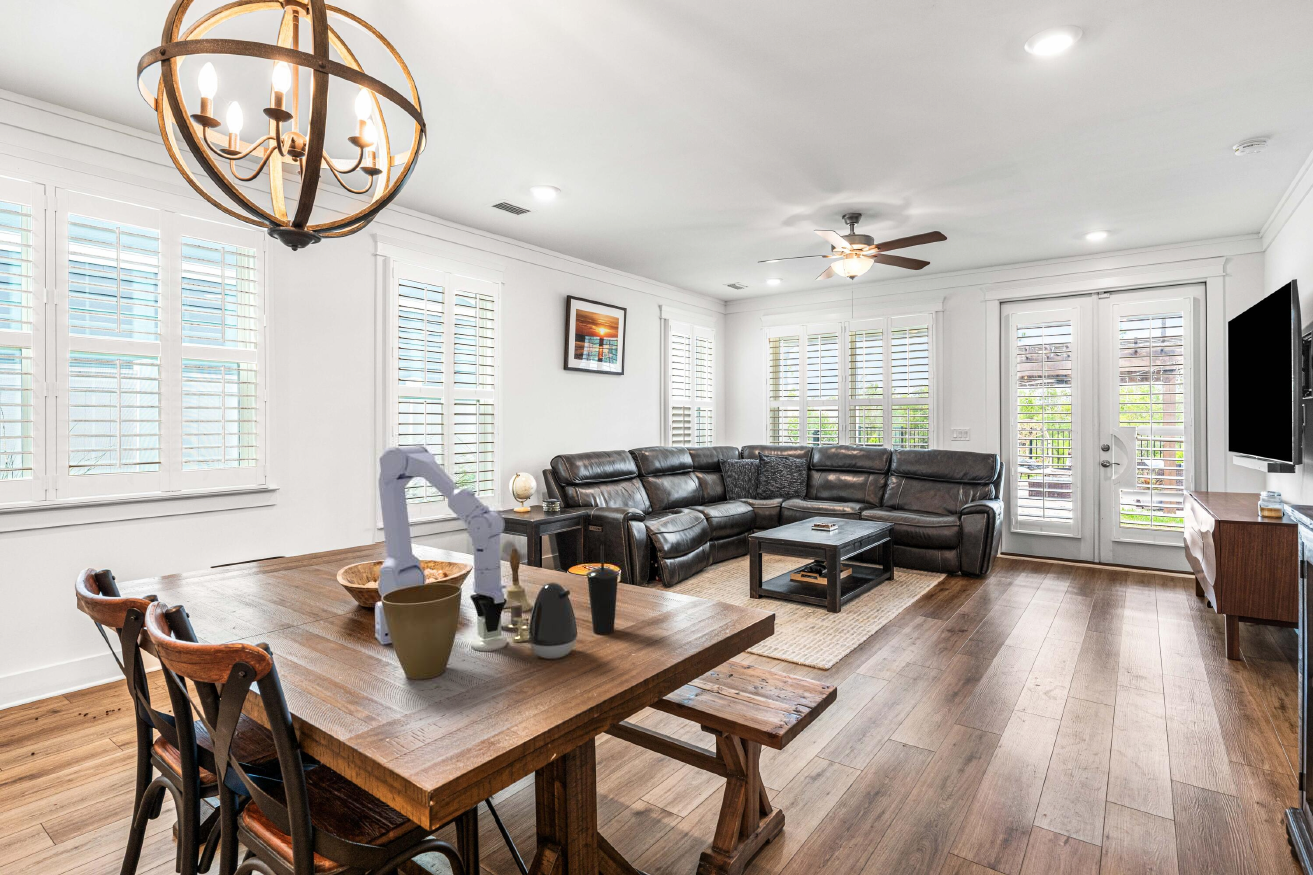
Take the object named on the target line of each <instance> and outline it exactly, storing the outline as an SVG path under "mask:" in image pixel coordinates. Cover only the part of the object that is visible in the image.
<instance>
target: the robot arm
mask: <svg viewBox="0 0 1313 875" xmlns="http://www.w3.org/2000/svg"><path fill="white" fill-rule="evenodd" d="M379 468H380V472H379V478H378V490H379V491H378V492H379V499H380V508H381V515H382V518H381V519H382V525H383V526H382V527H383V534H384V541H385V542H384V543H385V549H386V550H385V551H386V559H385V560H384V562H383V563H382V565H381V566H380V567H379V569H378V570H379V577H378V583H377V591H378V593H379V595H380V596H381V597H382V596H383V595H385V594H386V593H388V592H391V591H393V590H397V589H400V588H404V587H409V586H415V585H423V584H426V580H427V577H426V573H425V571H424V570H423V568H422V564H421V559H419V558H418V557H417V556H415V554H413V548H412V538H411V530H410V522H409V513H408V504H407V498H406V495H407V494H406V487H407V485H409V483H410V482H411V481H412V480H413V479H414V478H423V479H424V480H426V481H427V482H428V483H429V484H430V485H431V486H432V487H433V488H435V490H437V491H438V492H439V494H442V496H444V497H445V498H446V499H447V506H448V509H449V510H451V512H453V514H454V515H456V516H457V517H458V518H459V519H460V520H461V521H462V522H463V523H464V524H465V526H467V528H466V530H467V534H468V536H469V537H470V538H471V541H472V542H471V544H472V546H473V579H474V580H473V581H472V590H473V593H474V594H471V595H470V596H469V597H470V600H471V602H472V603H473V605H474V609H475V611H476V614H477V615H476V616H477V617H480V616H484V617H485V624H486V628H487V632H492V631H497V629H498V625H499V620H500V616H501V617H502V612H503V611H502V610H503V608H504V606H505V604H506V601H507V600H506V597H505V592H503V589H507V584H505V583H502V567H501V565H502V564H501V562H502V561H501V557H502V556H501V535H502V533H503V532H504V531H505V526H506V523H505V519H504V517H503V515H502V514H501V512H499V511H497V510H492V509H490V507H489V506H488V505H485V504H484V503H483V502H482V501H481V500H480V499H479V498H478V497H477V496H475V495H476V492H475V491H474V490H473V489H469V488H460V487H459V486H458V485H457V484H456V482H454V480H453V479H452V478H451V477H450V476H449V475H448V473H447V472H446V471H445V470H444V469H443V468H442V467H441V466H440V465H439V463H438V462H437V461H436V459H435V455H434V454H433V453H431V452H430V451H429V450H428V449H427V448H426V447H425V446H423V445H421V444H420V445H418V444H417V445H415V446H400V447H399V446H391V447H389V448H387V449H386V450H385V451H384V453H383V454H382V455H381V456H380V457H379ZM374 621H375V622H374V624H375V635H374V636H375V638H376V639H377V640H378V641H379V643H380V644H381V645H388V644H389V645H390V644H392V641H391V638H390V635H389V631H388V627H387V624H386V619H385V615H384V610H383V606H382V600H380V601H377V602H375V606H374Z"/></svg>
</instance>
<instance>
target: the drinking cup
mask: <svg viewBox="0 0 1313 875" xmlns="http://www.w3.org/2000/svg"><path fill="white" fill-rule="evenodd" d="M604 548H605V546H604V545H600V567H597V568H593V569H592V570H590V571H588V572H587V573H585V575H586V578H587V585H588V596H589V604H590V614H591V621H592V631H593V632H592V633H594V634H595V635H600V636H602V635H610V634H613V633H614V632H615V624H616V621H615V620H616V606H617V594H618V582H619V581H618V579H619V576H620V572H619V571H618V570H614V569H613V568H610V567H605V553H604V552H605V551H604V550H605V549H604Z"/></svg>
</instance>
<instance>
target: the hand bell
mask: <svg viewBox="0 0 1313 875" xmlns="http://www.w3.org/2000/svg"><path fill="white" fill-rule="evenodd" d="M510 551H511V552H510V554H509V555H510V556H509V566H510V569H511V574H512V575H511V576H512V577H511V580H512V585H511V586H510V587H507V592H506V597H505V599H506V600H512V599H513V600H515V601H516V602H518V603H520V604H522V613H523V612H527V611H529V610H531V609H533V604H532V603H531V602H530V601H529V600H528V598H527V594H526V590H525V587H524V586H522V585H521V584H520V578H519V577H520V576H519V569H520V565H521V564H520V563H521V561H520V554H519V552H518V549H517V547H511V550H510ZM502 612H504V613H509V614H511V609H506V610H502Z"/></svg>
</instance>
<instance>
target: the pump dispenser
mask: <svg viewBox="0 0 1313 875" xmlns="http://www.w3.org/2000/svg"><path fill="white" fill-rule="evenodd" d="M570 594H571V591H570V590H569V589H568V590H566V589H565V588H564V586H562V585H561V584H560V583H556V582H548V583H546V584H544V585H543V586H541V588H540V590H539V591H538V593H537V595H536V596H535V600H534V602H533V605H532V608H531V609H532V610H531V614H530V619H529V623H528V624H529V630H528V633H527V634H528V642H529V643H530V647H531V649H532V651H533V652H534V653H535V654H536V655H537V656H538V657H540V658H543V659H548V660H554V659H560V658H562V657H565V656H566V655H568V654H569V653H571V651H572V650H573V649H574V647H575V643H576V640H577V638H578V628H577V626H578V625H577V621H576V615H575V612H574V608H573V605H572V602H571V599H570V597H569V596H570Z"/></svg>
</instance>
